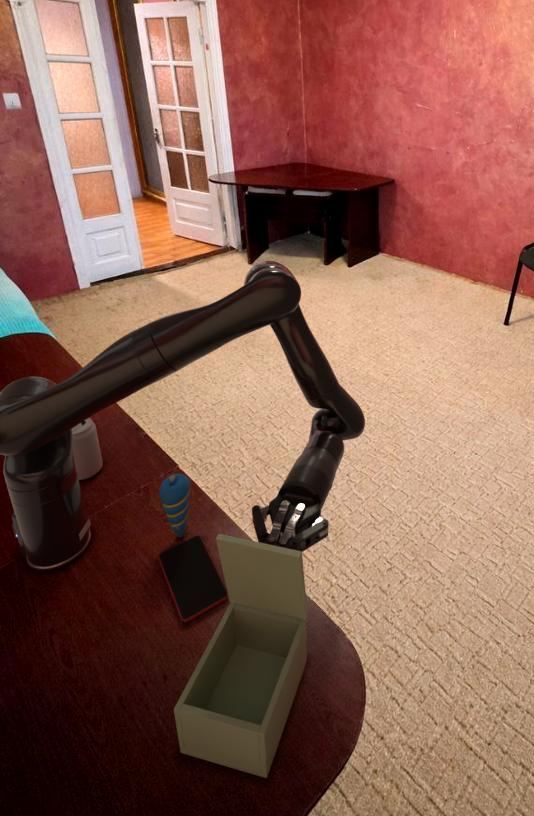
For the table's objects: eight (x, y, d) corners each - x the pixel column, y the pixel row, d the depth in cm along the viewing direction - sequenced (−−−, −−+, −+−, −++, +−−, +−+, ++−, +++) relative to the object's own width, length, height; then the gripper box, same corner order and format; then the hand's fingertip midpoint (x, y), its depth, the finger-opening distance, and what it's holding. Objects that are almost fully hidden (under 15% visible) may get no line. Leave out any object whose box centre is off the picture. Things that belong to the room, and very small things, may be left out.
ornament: (199, 526, 92) (193, 463, 87) (189, 549, 87) (182, 484, 82) (172, 525, 92) (163, 462, 87) (160, 549, 87) (150, 483, 82)
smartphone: (199, 533, 89) (229, 595, 79) (199, 536, 90) (230, 599, 79) (156, 553, 85) (182, 622, 74) (157, 557, 85) (183, 626, 74)
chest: (266, 778, 59) (264, 734, 56) (180, 753, 60) (173, 709, 57) (307, 660, 71) (306, 619, 68) (234, 641, 73) (231, 601, 70)
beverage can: (109, 462, 106) (101, 417, 102) (89, 484, 100) (79, 436, 96) (82, 459, 106) (73, 413, 102) (60, 480, 100) (49, 433, 96)
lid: (299, 557, 61) (302, 551, 62) (215, 538, 63) (218, 533, 63) (305, 620, 68) (307, 614, 68) (229, 601, 69) (232, 596, 70)
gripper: (272, 456, 81) (218, 541, 65) (347, 470, 80) (310, 562, 63) (273, 491, 84) (221, 581, 68) (346, 505, 82) (310, 602, 66)
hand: (264, 572), depth 66 cm, fingers closed
